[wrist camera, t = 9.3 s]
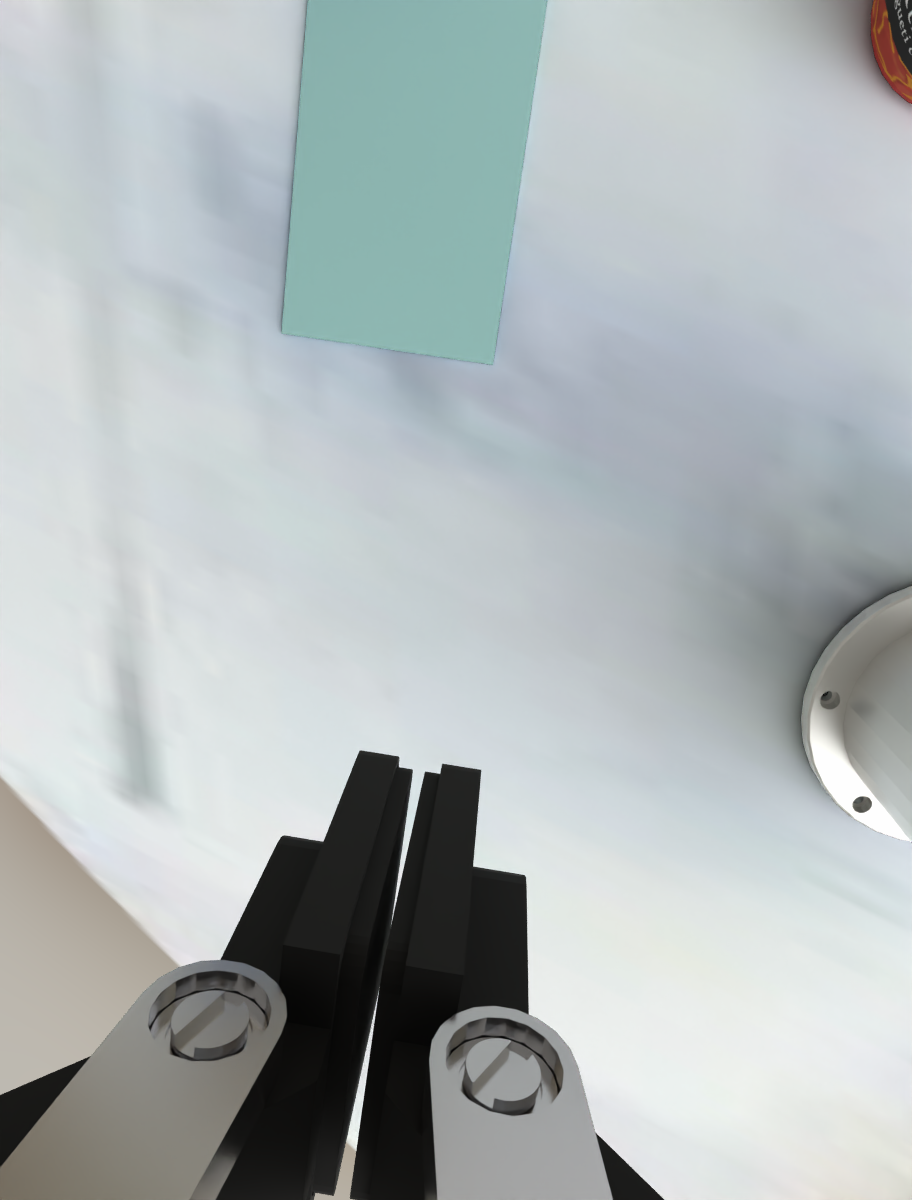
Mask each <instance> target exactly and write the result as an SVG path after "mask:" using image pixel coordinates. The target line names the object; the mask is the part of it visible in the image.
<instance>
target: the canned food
mask: <svg viewBox="0 0 912 1200" xmlns="http://www.w3.org/2000/svg"><path fill="white" fill-rule="evenodd" d="M871 40H872V45H873V50H874V56H875V58H876V61H877V63H878V65H879V68H880V70H881V73H882V75H883V76H884V77H885V79H886V80H887V82H888V83H889V84H890V86H891V87H892V89H893V90H894V91H895V92H897V93H898V94H899V95H900V96H901V97H902V98H904V99H905V100H906V101H907V102H909V103H911V104H912V0H874V1H873V6H872V11H871Z"/></svg>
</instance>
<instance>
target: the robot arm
mask: <svg viewBox="0 0 912 1200" xmlns="http://www.w3.org/2000/svg"><path fill="white" fill-rule="evenodd" d="M827 691H828V694H827V695H826V696H824V697H821V696H822V694H824V693H826V692H827ZM801 726H802V737H803V745H804V748H805V751H806V754H807V757H808V760H809V764H810V766H811V768H812V770H813V771H814V773H815V775H816V776H817V778H818V780H819V782H820V783H821V785H822V786H823V788H824V789H825V790H826V792H827V793H828V794H829V795H830V797H831V798H832V799H833V801H834V802H835V803H836V804H837V805H838V806H839V807H840V808H841V809H842V810H843V811H844V812H846V813H847V814H848V815H849V816H850V817H851V818H853V819H854V820H856V821H858V822H860V823H861V824H863V825H865V826H867V827H868V828H870V829H872V830H874V831H876V832H879V833H881V834H884V835H887V836H890V837H893V838H896V839H899V840H905V841H910V842H911V843H912V586H910V587H907V588H905V589H902V590H900V591H897V592H894V593H892V594H889V595H888V596H886V597H884V598H883V599H881V600H879V601H878V602H876V603H874V604H872V605H871V606H869V607H867V608H866V609H864V610H863V611H862V612H861V613H859V614H858V615H857V616H856V617H855V618H854V619H852V620H851V621H850V622H849V623H848V624H846V625H845V626H844V627H843V628H842V629H841V630H840V632H839V633H838V634H837V635H836V636H835V637H834V639H833V640H832V641H831V642H830V643H829V645H828V646H827V647H826V648H825V650H824V651H823V653H822V655H821V657H820V659H819V660H818V662H817V664H816V666H815V667H814V669H813V671H812V673H811V676H810V679H809V682H808V685H807V688H806V691H805V694H804V699H803V707H802V715H801ZM412 773H413V770H412V769H406V768H400V767H399V757H398V756H392V755H385V754H379V753H373V752H367V751H359V753H358V756H357V758H356V761H355V763H354V766H353V768H352V771H351V773H350V776H349V779H348V781H347V784H346V786H345V789H344V791H343V794H342V796H341V799H340V801H339V804H338V806H337V809H336V811H335V814H334V817H333V819H332V822H331V824H330V827H329V829H328V832H327V834H326V837H325V839H324V842H321V841H315V840H309V839H303V838H297V837H291V836H285V835H284V836H282V837H281V838H280V840H279V841H278V843H277V845H276V847H275V849H274V851H273V853H272V855H271V857H270V859H269V861H268V863H267V865H266V868H265V870H264V872H263V874H262V876H261V878H260V880H259V882H258V884H257V886H256V888H255V890H254V892H253V894H252V896H251V898H250V900H249V902H248V904H247V907H246V909H245V911H244V913H243V915H242V917H241V919H240V921H239V923H238V925H237V927H236V929H235V931H234V933H233V935H232V937H231V939H230V941H229V943H228V945H227V948H226V950H225V952H224V954H223V956H222V958H221V960H214V961H200V962H196V963H193V964H189V965H185V966H182V967H178V968H177V969H175V970H173V971H171V972H169V973H167V974H165V975H163V976H161V977H160V978H158V979H157V980H156V981H155V982H154V983H153V984H152V985H150V986H149V987H148V988H147V989H146V990H145V991H144V992H143V993H142V994H141V995H140V997H139V998H138V999H137V1000H136V1002H135V1003H134V1004H133V1005H132V1006H131V1008H130V1009H129V1010H128V1011H127V1013H126V1014H125V1015H124V1016H123V1018H122V1019H121V1020H120V1021H119V1022H118V1024H117V1025H116V1026H115V1027H114V1029H113V1030H112V1031H111V1032H110V1033H109V1035H108V1036H107V1037H106V1038H105V1040H104V1041H103V1042H102V1043H101V1044H100V1046H99V1047H98V1048H97V1049H96V1051H95V1052H94V1053H93V1054H92V1055H91V1056H90V1057H88V1058H85V1059H83V1060H81V1061H78V1062H76V1063H74V1064H72V1065H69V1066H67V1067H64V1068H62V1069H60V1070H57V1071H55V1072H53V1073H50V1074H48V1075H46V1076H43V1077H42V1078H39V1079H37V1080H34V1081H32V1082H30V1083H27V1084H25V1085H23V1086H20V1087H18V1088H16V1089H13V1090H11V1091H9V1092H6V1093H4V1094H2V1095H0V1200H314V1196H315V1193H321V1194H327V1195H332V1196H334V1193H335V1189H336V1185H337V1181H338V1176H339V1171H340V1167H341V1162H342V1158H343V1153H344V1148H345V1144H346V1139H347V1135H348V1130H349V1125H350V1121H351V1116H352V1111H353V1107H354V1102H355V1098H356V1093H357V1088H358V1084H359V1079H360V1075H361V1070H362V1065H363V1061H364V1056H365V1051H366V1047H367V1042H368V1038H369V1033H370V1028H371V1024H372V1019H373V1015H374V1010H375V1005H376V1001H377V996H378V1002H377V1009H376V1016H375V1023H374V1030H373V1037H372V1045H371V1052H370V1059H369V1066H368V1073H367V1080H366V1087H365V1094H364V1101H363V1108H362V1115H361V1122H360V1129H359V1137H358V1144H357V1151H356V1158H355V1165H354V1172H353V1179H352V1186H351V1193H350V1199H355V1200H664V1199H663V1198H662V1197H661V1196H660V1195H659V1194H658V1193H657V1192H656V1191H655V1190H654V1189H653V1188H652V1187H651V1186H650V1185H649V1184H648V1183H647V1182H646V1181H645V1180H644V1179H642V1178H641V1177H640V1176H639V1175H638V1174H637V1173H636V1172H635V1171H634V1170H633V1169H632V1168H631V1167H630V1166H629V1165H628V1164H627V1163H626V1162H625V1161H624V1160H623V1159H622V1158H621V1157H620V1156H619V1155H618V1154H617V1153H616V1152H615V1151H614V1150H613V1149H612V1148H611V1147H610V1146H609V1145H608V1144H607V1143H606V1142H605V1141H604V1140H603V1139H601V1138H600V1137H599V1136H598V1135H597V1134H596V1133H595V1129H594V1125H593V1122H592V1118H591V1114H590V1110H589V1106H588V1102H587V1099H586V1095H585V1091H584V1087H583V1083H582V1079H581V1076H580V1072H579V1068H578V1065H577V1063H576V1061H575V1059H574V1056H573V1054H572V1052H571V1049H570V1048H569V1046H568V1045H567V1044H566V1043H565V1042H564V1041H563V1039H562V1038H561V1037H560V1036H559V1035H558V1033H557V1032H556V1031H555V1030H553V1029H552V1028H550V1027H549V1026H548V1025H546V1024H545V1023H543V1022H542V1021H541V1020H539V1019H538V1018H536V1017H533V1016H531V1015H529V1008H528V950H527V891H526V877H525V875H521V874H515V873H509V872H503V871H496V870H490V869H484V868H478V867H473V860H474V848H475V837H476V825H477V813H478V802H479V790H480V779H481V770H478V769H472V768H466V767H459V766H453V765H447V764H442V768H441V773H440V774H437V773H431V772H425V774H424V779H423V783H422V788H421V792H420V797H419V801H418V806H417V811H416V815H415V820H414V824H413V829H412V833H411V838H410V842H409V847H408V852H407V856H406V861H405V865H404V870H403V874H402V879H401V884H400V888H399V893H398V897H397V902H396V906H395V911H394V915H393V908H394V901H395V894H396V887H397V880H398V873H399V866H400V859H401V852H402V845H403V838H404V831H405V824H406V817H407V810H408V803H409V796H410V788H411V781H412ZM392 915H393V920H392ZM391 922H392V925H391ZM379 987H380V988H379ZM378 992H379V995H378Z"/></svg>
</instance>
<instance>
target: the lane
mask: <svg viewBox="0 0 912 1200" xmlns="http://www.w3.org/2000/svg"><path fill="white" fill-rule="evenodd" d="M546 6H547V0H308V3H307V16H306V28H305V41H304V54H303V67H302V79H301V92H300V105H299V118H298V130H297V143H296V156H295V168H294V181H293V194H292V207H291V219H290V232H289V245H288V258H287V270H286V283H285V296H284V308H283V321H282V334H288V335H295V336H302V337H308V338H315V339H322V340H328V341H335V342H342V343H349V344H355V345H362V346H369V347H375V348H382V349H389V350H395V351H402V352H409V353H416V354H422V355H429V356H436V357H442V358H449V359H456V360H462V361H469V362H476V363H483V364H489V365H493V361H494V354H495V348H496V341H497V334H498V327H499V321H500V314H501V307H502V301H503V294H504V287H505V281H506V274H507V267H508V260H509V254H510V247H511V240H512V234H513V227H514V220H515V214H516V207H517V200H518V193H519V187H520V180H521V173H522V167H523V160H524V153H525V147H526V140H527V133H528V127H529V120H530V113H531V106H532V100H533V93H534V86H535V80H536V73H537V66H538V60H539V53H540V46H541V39H542V33H543V26H544V19H545V13H546Z"/></svg>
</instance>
